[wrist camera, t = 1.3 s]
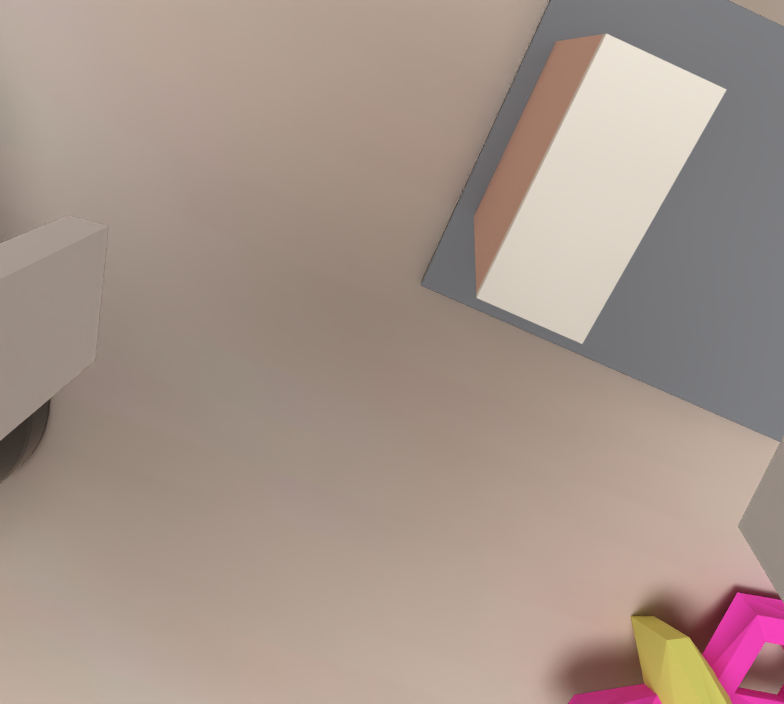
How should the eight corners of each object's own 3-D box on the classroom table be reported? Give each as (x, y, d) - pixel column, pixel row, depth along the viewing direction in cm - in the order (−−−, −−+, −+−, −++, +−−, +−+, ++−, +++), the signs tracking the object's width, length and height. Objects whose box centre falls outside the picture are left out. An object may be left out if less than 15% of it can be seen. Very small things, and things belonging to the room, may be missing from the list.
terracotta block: (473, 216, 39) (476, 298, 26) (555, 41, 35) (606, 33, 22) (544, 247, 39) (582, 343, 26) (632, 76, 36) (726, 89, 23)
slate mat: (421, 281, 41) (420, 285, 40) (580, -67, 34) (582, -69, 34) (779, 437, 42) (785, 444, 42) (999, 132, 36) (1010, 134, 35)
